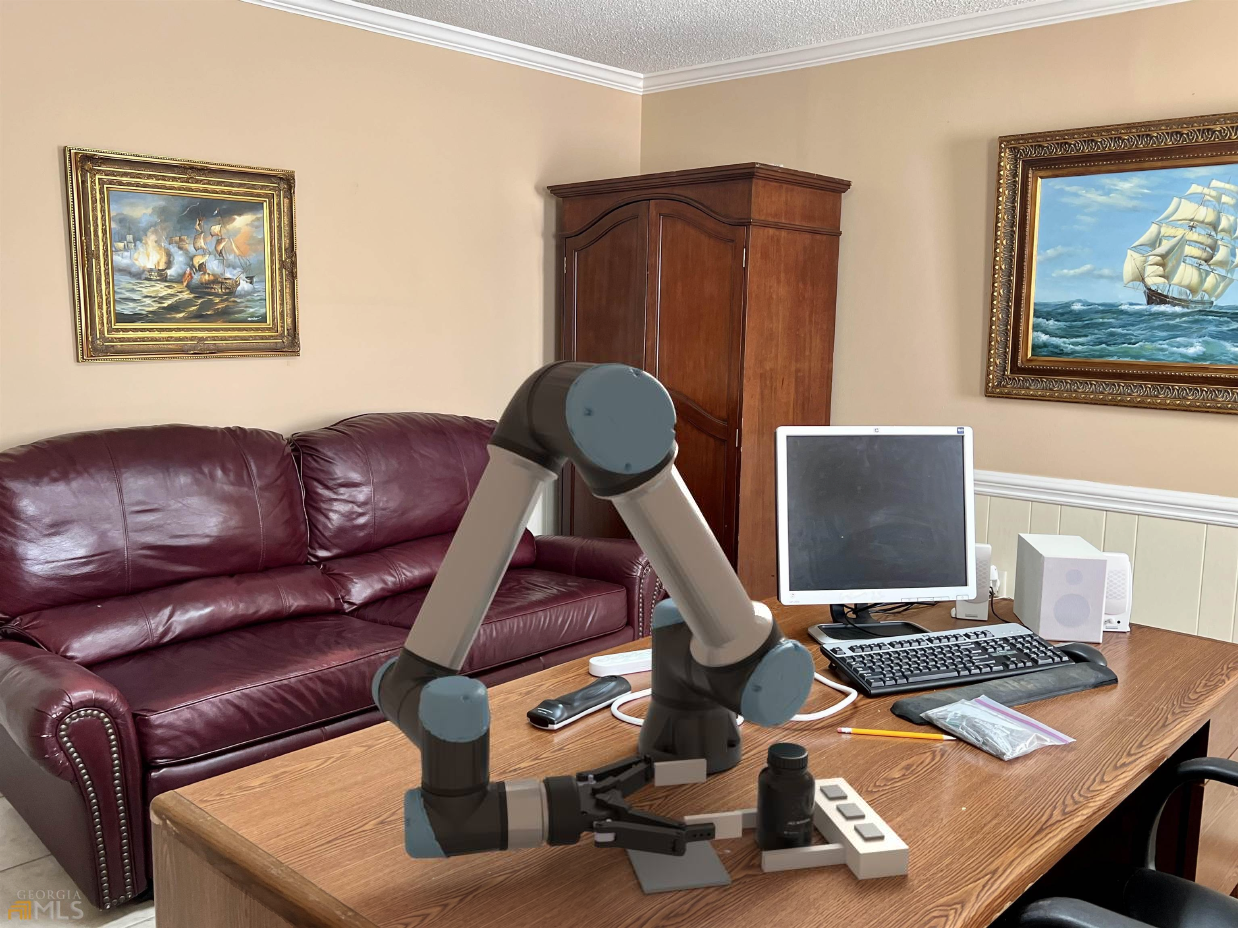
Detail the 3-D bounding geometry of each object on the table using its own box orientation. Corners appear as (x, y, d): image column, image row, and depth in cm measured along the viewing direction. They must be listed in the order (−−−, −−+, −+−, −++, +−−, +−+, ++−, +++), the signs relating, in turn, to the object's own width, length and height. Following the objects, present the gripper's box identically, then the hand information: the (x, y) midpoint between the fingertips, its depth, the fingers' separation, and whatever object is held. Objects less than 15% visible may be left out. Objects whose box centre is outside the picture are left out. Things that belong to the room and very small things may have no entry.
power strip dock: (725, 811, 129) (725, 785, 128) (841, 800, 132) (842, 774, 131) (775, 889, 111) (776, 858, 111) (907, 873, 114) (909, 844, 114)
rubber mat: (618, 830, 124) (618, 826, 124) (695, 822, 126) (696, 818, 126) (644, 893, 110) (644, 889, 110) (731, 883, 112) (731, 879, 112)
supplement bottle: (799, 865, 116) (803, 767, 114) (746, 848, 120) (748, 753, 118) (821, 839, 122) (825, 746, 120) (769, 824, 125) (772, 733, 124)
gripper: (529, 792, 126) (692, 778, 130) (559, 905, 102) (757, 882, 106) (529, 735, 125) (693, 723, 129) (559, 836, 101) (759, 816, 105)
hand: (722, 795), depth 118 cm, fingers open, 13 cm apart
